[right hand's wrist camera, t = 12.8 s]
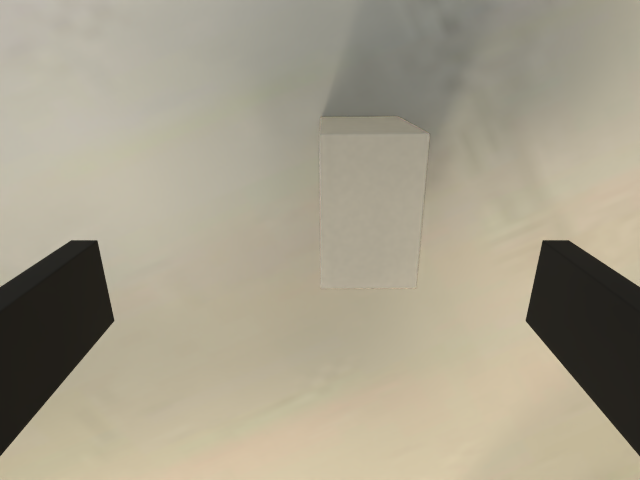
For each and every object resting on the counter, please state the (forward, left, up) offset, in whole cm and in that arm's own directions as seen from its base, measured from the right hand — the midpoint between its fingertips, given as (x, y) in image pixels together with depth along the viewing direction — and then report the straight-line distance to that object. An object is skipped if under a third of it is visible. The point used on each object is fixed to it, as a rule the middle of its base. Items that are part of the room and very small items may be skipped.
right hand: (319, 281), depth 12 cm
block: (+1, -2, -16) cm, 16 cm away
